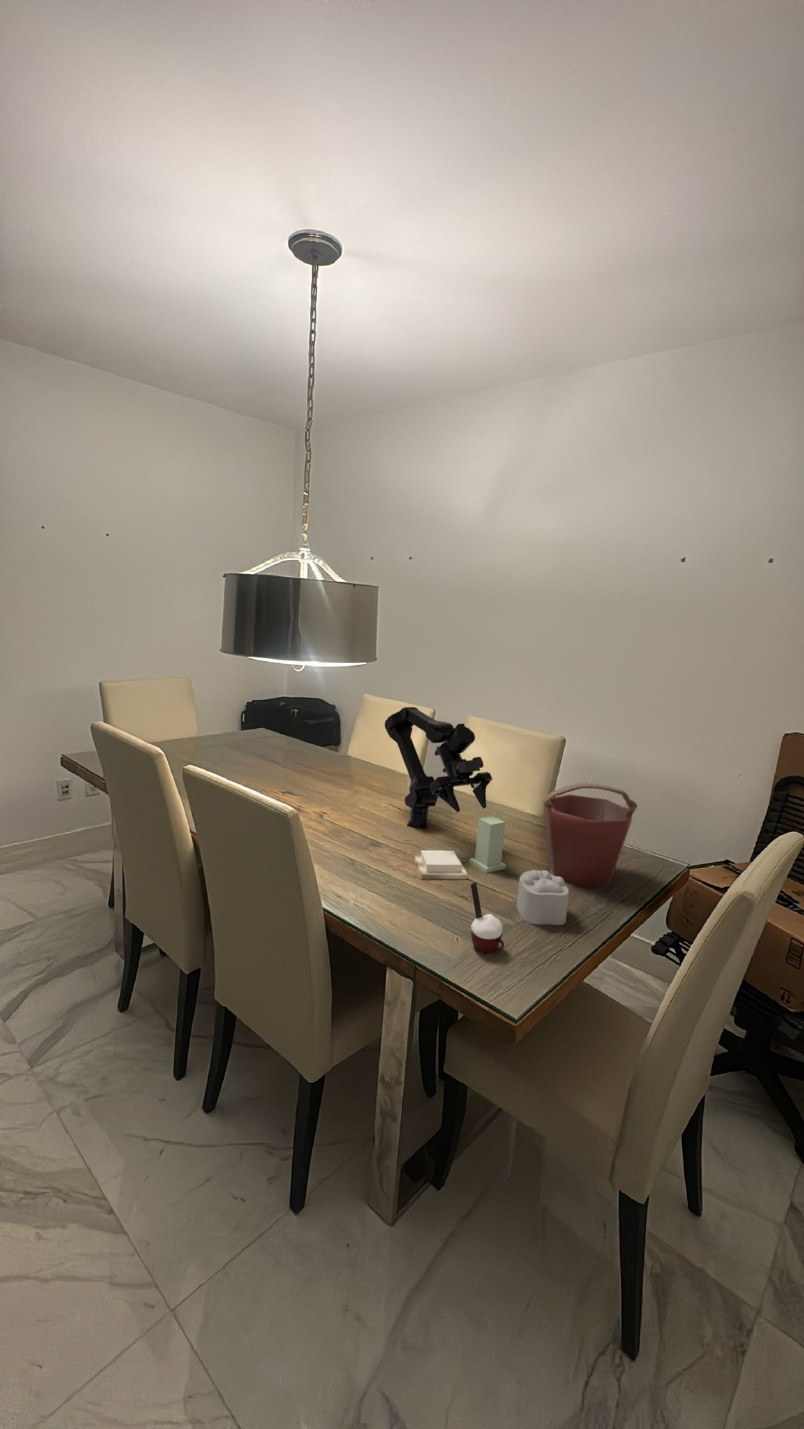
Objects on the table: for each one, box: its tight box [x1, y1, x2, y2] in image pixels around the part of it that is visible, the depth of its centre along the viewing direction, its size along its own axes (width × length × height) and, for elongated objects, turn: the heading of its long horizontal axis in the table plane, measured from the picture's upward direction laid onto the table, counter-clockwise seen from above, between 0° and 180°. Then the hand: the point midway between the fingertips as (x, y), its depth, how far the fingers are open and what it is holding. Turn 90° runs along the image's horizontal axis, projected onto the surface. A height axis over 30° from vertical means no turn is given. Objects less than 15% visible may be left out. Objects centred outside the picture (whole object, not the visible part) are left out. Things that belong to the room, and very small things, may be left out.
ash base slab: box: [413, 854, 469, 880], centre depth 160 cm, size 12×12×2 cm
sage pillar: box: [469, 815, 507, 874], centre depth 163 cm, size 7×7×13 cm
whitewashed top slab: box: [420, 849, 461, 872], centre depth 160 cm, size 9×9×2 cm
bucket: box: [542, 782, 638, 888], centre depth 161 cm, size 24×22×25 cm
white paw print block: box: [516, 869, 570, 926], centre depth 141 cm, size 10×13×9 cm
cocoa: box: [470, 881, 505, 953], centre depth 123 cm, size 10×6×12 cm, turn 18°
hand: (472, 809), depth 169 cm, fingers open, 9 cm apart
